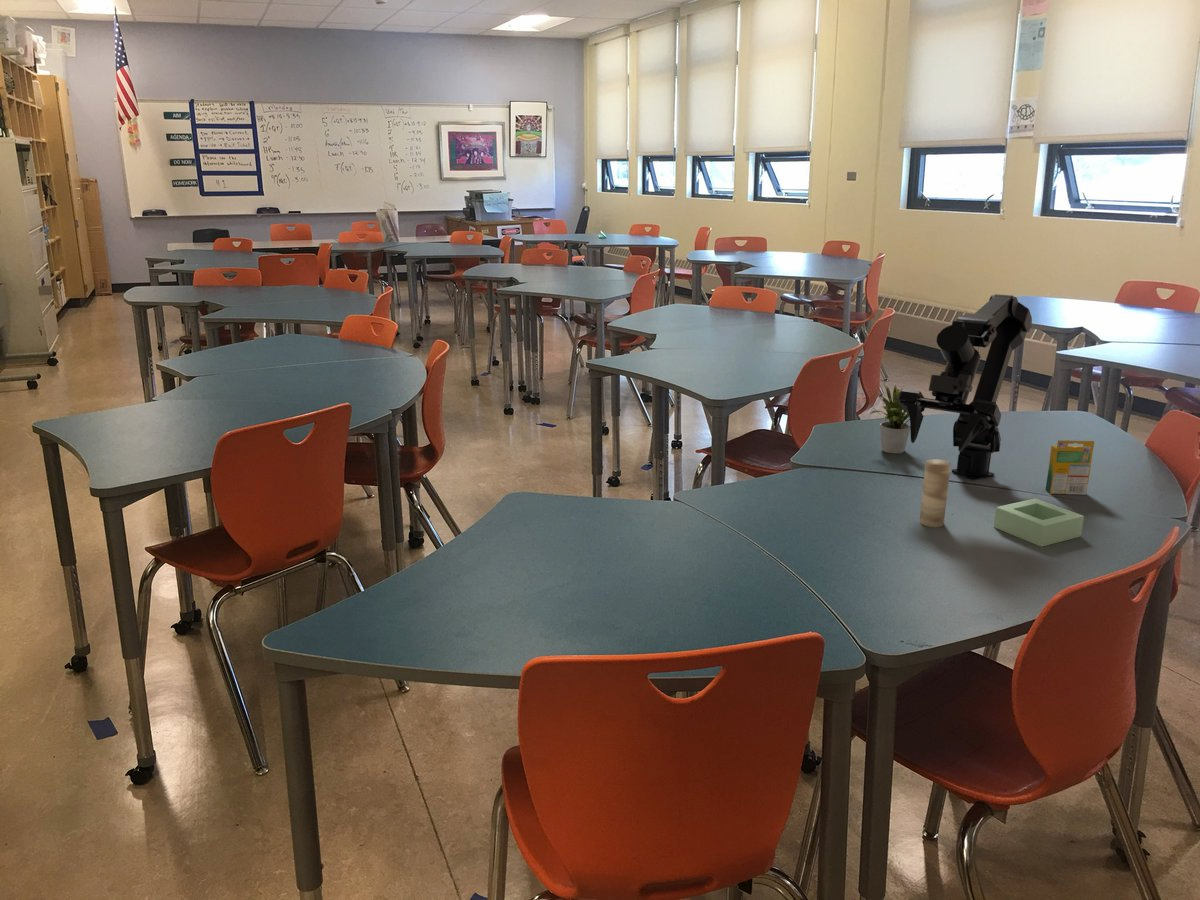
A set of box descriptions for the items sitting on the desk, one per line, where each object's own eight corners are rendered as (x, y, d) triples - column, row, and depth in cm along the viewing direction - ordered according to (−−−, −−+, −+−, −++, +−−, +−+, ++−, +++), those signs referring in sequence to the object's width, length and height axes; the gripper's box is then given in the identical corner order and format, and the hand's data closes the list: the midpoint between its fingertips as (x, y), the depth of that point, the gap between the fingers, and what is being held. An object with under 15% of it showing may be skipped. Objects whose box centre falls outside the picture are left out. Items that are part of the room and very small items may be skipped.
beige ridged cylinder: (931, 517, 175) (937, 458, 171) (948, 524, 171) (955, 464, 167) (914, 520, 173) (920, 461, 169) (931, 528, 169) (938, 467, 166)
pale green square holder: (1032, 517, 174) (1035, 498, 173) (1080, 536, 165) (1084, 516, 164) (993, 527, 170) (996, 507, 168) (1041, 546, 161) (1044, 525, 160)
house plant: (846, 443, 222) (851, 378, 217) (894, 438, 226) (900, 374, 221) (880, 460, 209) (886, 391, 204) (931, 454, 213) (938, 387, 208)
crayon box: (1081, 490, 189) (1089, 437, 185) (1086, 495, 186) (1095, 441, 182) (1044, 489, 189) (1052, 436, 186) (1049, 494, 187) (1058, 440, 183)
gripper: (902, 350, 178) (877, 422, 175) (1001, 362, 167) (976, 438, 164) (916, 375, 187) (893, 444, 184) (1010, 388, 175) (988, 461, 172)
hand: (935, 446), depth 175 cm, fingers open, 9 cm apart
